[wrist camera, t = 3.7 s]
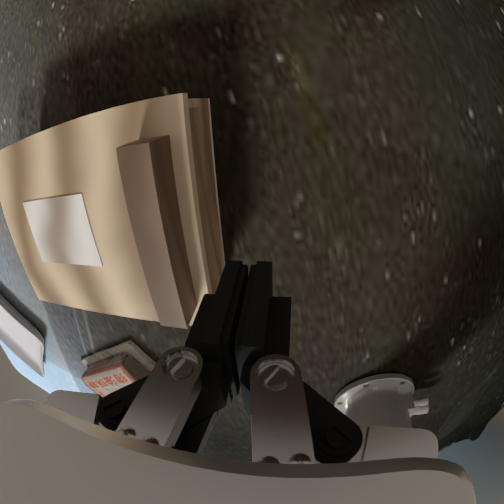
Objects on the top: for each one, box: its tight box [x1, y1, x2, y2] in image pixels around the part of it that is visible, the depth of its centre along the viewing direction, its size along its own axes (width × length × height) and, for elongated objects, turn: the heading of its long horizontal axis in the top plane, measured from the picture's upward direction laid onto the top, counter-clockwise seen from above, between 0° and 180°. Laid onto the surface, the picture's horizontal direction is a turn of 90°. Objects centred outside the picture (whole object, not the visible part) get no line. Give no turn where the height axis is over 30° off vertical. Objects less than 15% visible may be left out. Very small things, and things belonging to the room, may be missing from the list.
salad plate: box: [0, 294, 44, 377], centre depth 42 cm, size 21×21×3 cm
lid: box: [0, 93, 212, 329], centre depth 18 cm, size 21×17×3 cm
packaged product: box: [80, 340, 156, 397], centre depth 39 cm, size 18×5×10 cm
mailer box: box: [188, 98, 225, 294], centre depth 22 cm, size 20×16×6 cm
